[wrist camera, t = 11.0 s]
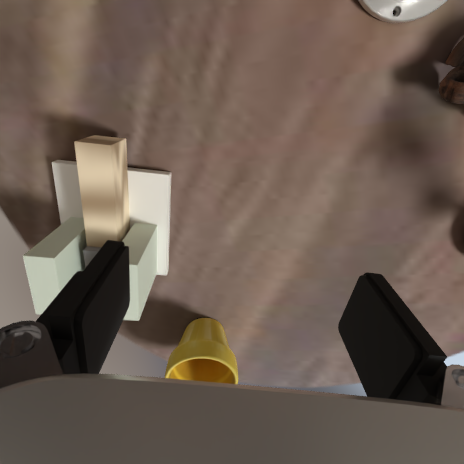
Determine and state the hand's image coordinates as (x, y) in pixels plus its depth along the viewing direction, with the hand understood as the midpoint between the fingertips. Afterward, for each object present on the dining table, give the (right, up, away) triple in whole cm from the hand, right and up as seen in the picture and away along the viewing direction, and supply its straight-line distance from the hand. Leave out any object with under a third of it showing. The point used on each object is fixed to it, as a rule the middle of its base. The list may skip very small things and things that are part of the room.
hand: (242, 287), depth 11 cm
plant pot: (-5, -15, +37) cm, 41 cm away
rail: (-15, +6, +25) cm, 30 cm away
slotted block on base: (-16, +4, +28) cm, 32 cm away
